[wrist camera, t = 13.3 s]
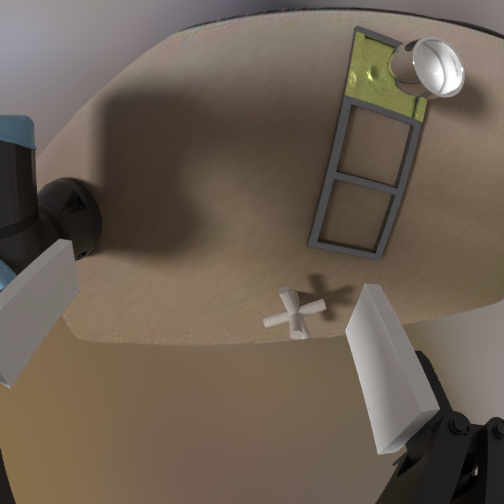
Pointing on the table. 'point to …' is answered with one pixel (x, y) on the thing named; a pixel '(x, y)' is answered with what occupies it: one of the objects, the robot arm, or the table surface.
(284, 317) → the pipe connector
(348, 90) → the grey flat frame
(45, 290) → the robot arm
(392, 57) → the beer glass
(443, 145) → the table surface
